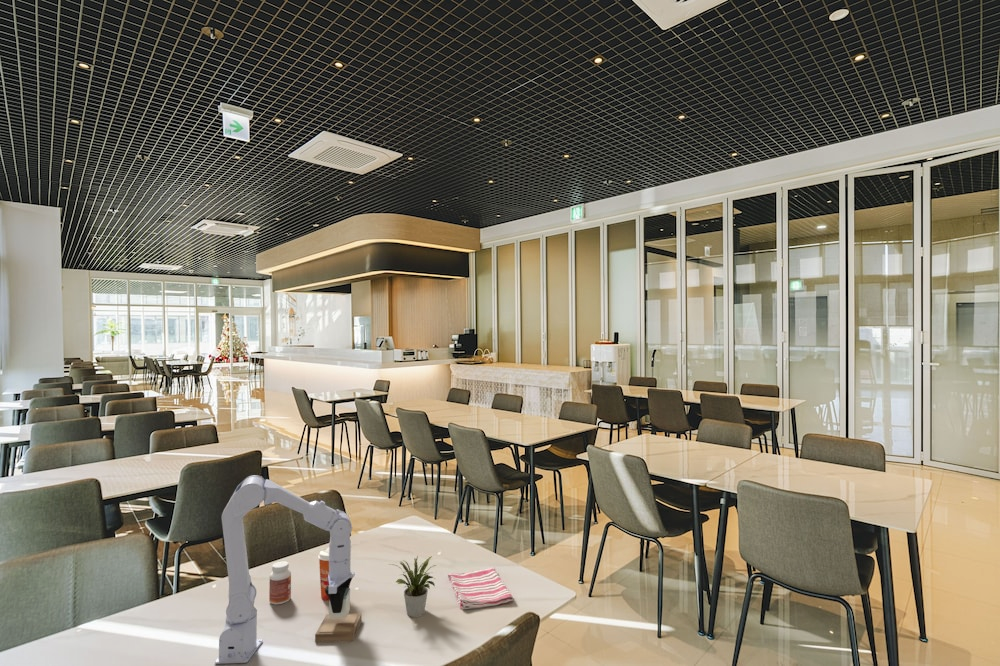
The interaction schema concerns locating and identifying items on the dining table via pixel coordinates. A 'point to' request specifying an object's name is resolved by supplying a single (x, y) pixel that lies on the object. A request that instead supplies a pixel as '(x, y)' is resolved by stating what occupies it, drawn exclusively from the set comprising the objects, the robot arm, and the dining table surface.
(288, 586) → the pill bottle
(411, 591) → the house plant
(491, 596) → the dish towel
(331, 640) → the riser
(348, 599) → the cube
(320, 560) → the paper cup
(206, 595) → the dining table surface
